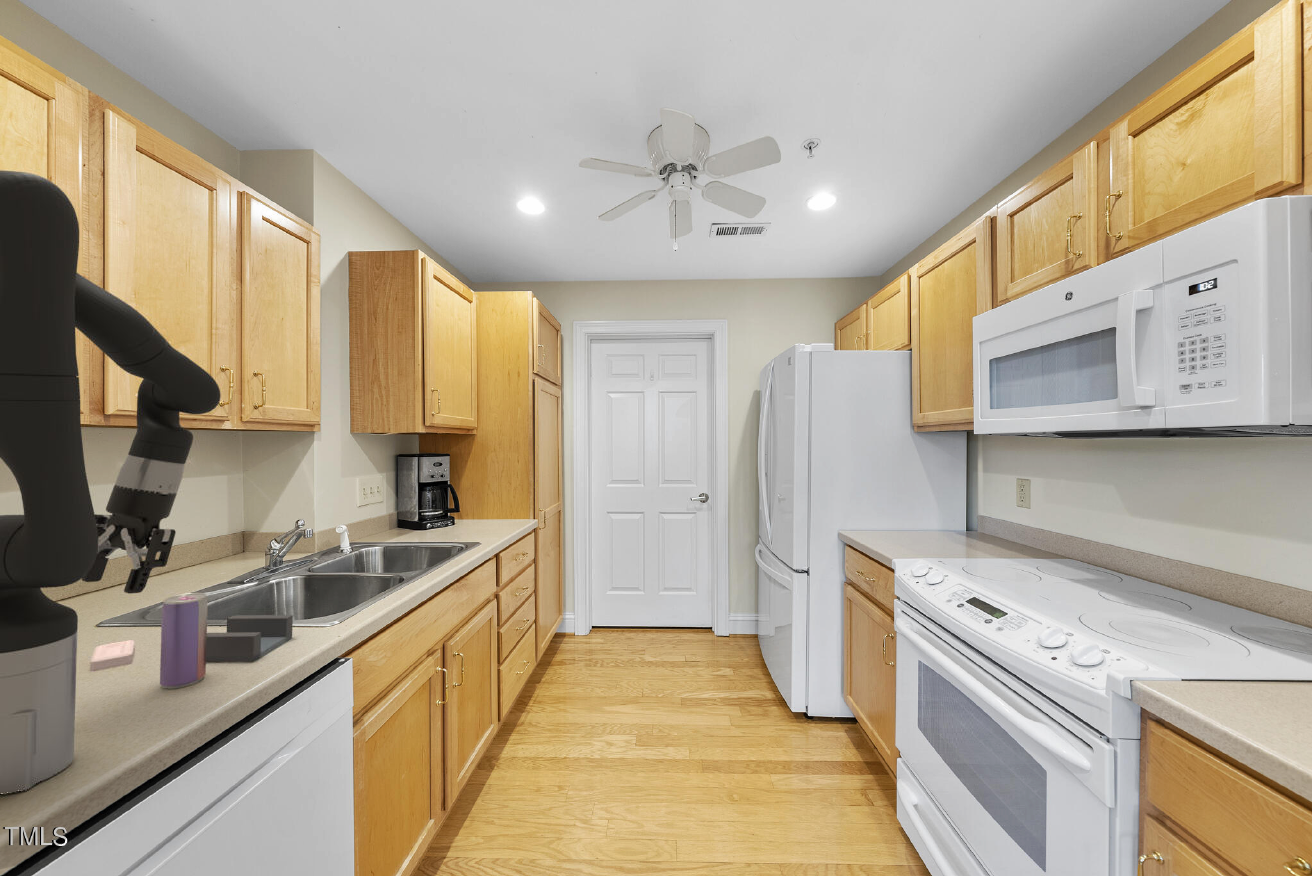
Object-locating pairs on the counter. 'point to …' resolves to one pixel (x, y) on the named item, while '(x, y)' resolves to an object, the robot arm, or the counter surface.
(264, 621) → the duct channel
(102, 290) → the robot arm
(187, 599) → the beverage can
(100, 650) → the soap bar
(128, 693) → the counter surface
